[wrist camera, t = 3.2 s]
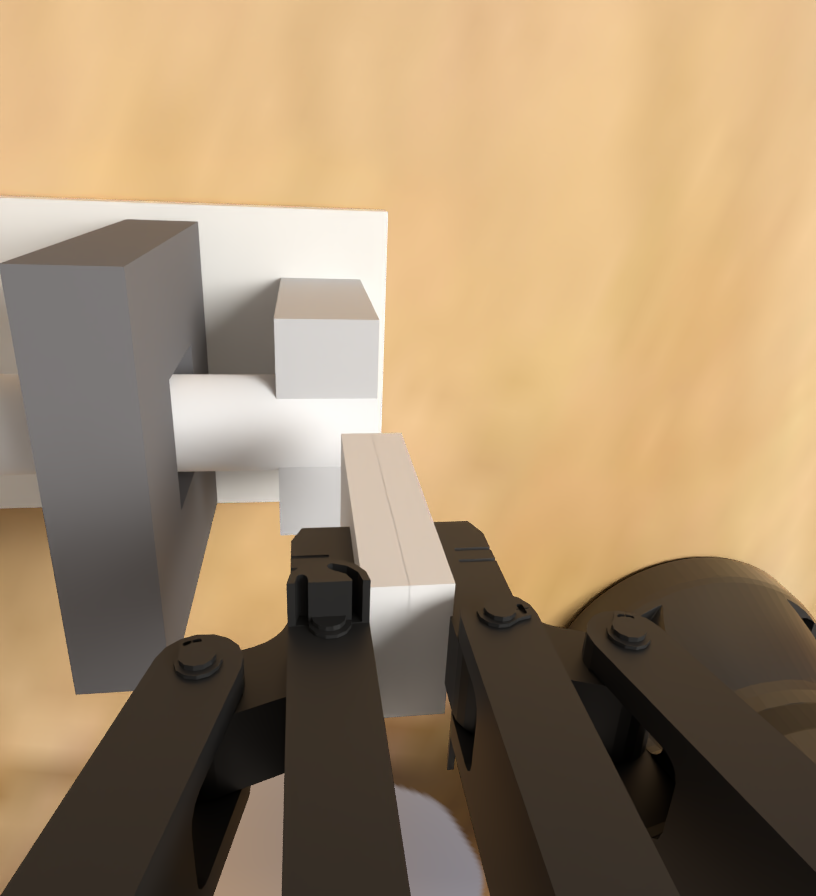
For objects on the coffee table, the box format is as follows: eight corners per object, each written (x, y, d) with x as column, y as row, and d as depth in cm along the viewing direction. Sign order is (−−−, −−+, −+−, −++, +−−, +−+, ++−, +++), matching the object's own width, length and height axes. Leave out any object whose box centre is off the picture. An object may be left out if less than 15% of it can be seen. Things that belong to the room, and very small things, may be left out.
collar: (197, 221, 24) (124, 266, 14) (217, 501, 28) (170, 688, 18) (126, 219, 24) (-2, 263, 14) (156, 502, 28) (75, 694, 18)
